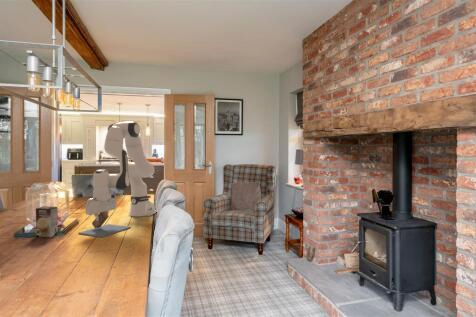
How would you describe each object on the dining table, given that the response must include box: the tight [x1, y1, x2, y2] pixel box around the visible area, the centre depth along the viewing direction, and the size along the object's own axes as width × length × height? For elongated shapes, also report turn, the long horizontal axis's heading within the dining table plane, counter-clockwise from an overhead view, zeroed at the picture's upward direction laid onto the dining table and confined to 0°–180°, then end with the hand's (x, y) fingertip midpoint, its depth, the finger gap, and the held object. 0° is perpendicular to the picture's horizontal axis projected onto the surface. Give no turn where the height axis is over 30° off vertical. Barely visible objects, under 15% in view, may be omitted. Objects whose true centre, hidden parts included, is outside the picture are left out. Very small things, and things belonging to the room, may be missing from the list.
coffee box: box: [35, 206, 59, 238], centre depth 172 cm, size 9×6×16 cm
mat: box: [78, 223, 131, 238], centre depth 182 cm, size 22×18×1 cm
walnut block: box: [91, 212, 109, 229], centre depth 183 cm, size 4×4×10 cm
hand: (101, 219), depth 183 cm, fingers open, 4 cm apart
